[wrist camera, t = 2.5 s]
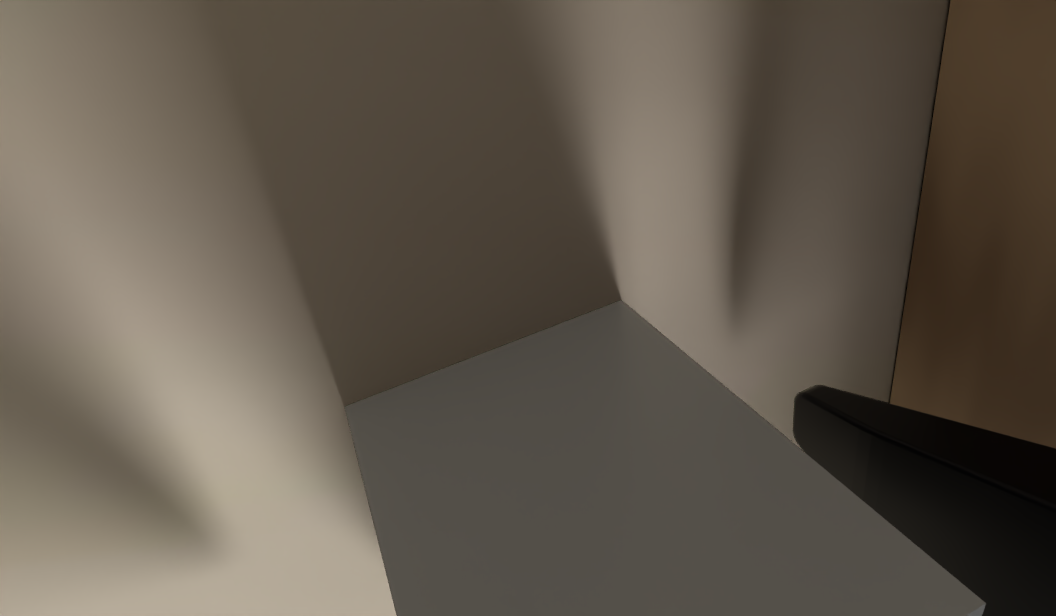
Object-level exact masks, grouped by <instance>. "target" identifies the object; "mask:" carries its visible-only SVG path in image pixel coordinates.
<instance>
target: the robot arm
mask: <svg viewBox="0 0 1056 616" xmlns="http://www.w3.org/2000/svg"><path fill="white" fill-rule="evenodd" d="M793 434H794V437H795V439H796V441H797V443H798V444H799V446H800V447H801V448H802V450H803V451H804V452H805V453H806V454H807V455H808V456H810V457H811V458H812V459H813V460H814V461H816V462H817V463H818V464H819V465H820V466H822V467H823V468H824V469H825V470H826V471H828V472H829V473H830V474H831V475H832V476H834V477H835V478H836V479H837V480H838V481H840V482H841V483H842V484H843V485H844V486H846V487H847V488H848V489H849V490H850V491H852V492H853V493H854V494H855V495H856V496H858V497H859V498H860V499H861V500H862V501H864V502H865V503H866V504H867V505H868V506H870V507H871V508H872V509H873V510H874V511H876V512H877V513H878V514H879V515H880V516H882V517H883V518H884V519H885V520H886V521H888V522H889V523H890V524H891V525H892V526H894V527H895V528H896V529H897V530H899V531H900V532H901V533H902V534H903V535H905V536H906V537H907V538H908V539H909V540H911V541H912V542H913V543H914V544H915V545H917V546H918V547H919V548H920V549H921V550H923V551H924V552H925V553H926V554H927V555H929V556H930V557H931V558H932V559H933V560H935V561H936V562H937V563H938V564H939V565H941V566H942V567H943V568H944V569H945V570H947V571H948V572H949V573H950V574H951V575H953V576H954V577H955V578H956V579H957V580H959V581H960V582H961V583H962V584H963V585H965V586H966V587H967V588H968V589H969V590H971V591H972V592H973V593H974V594H975V595H977V596H978V597H979V598H980V599H981V600H983V601H984V602H985V603H986V605H985V608H984V611H983V614H982V616H1056V448H1053V447H1049V446H1045V445H1042V444H1038V443H1034V442H1031V441H1027V440H1023V439H1019V438H1016V437H1012V436H1008V435H1005V434H1001V433H997V432H994V431H990V430H986V429H982V428H979V427H975V426H971V425H968V424H964V423H960V422H957V421H953V420H949V419H946V418H942V417H938V416H934V415H931V414H927V413H923V412H920V411H916V410H912V409H909V408H905V407H901V406H897V405H894V404H890V403H886V402H883V401H879V400H875V399H872V398H868V397H864V396H860V395H857V394H853V393H849V392H846V391H842V390H838V389H835V388H831V387H827V386H823V385H815V386H812V387H810V388H808V389H806V390H804V391H802V392H799V393H798V394H797V395H796V397H795V399H794V415H793Z"/></svg>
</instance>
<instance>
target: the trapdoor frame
mask: <svg viewBox="0 0 1056 616" xmlns="http://www.w3.org/2000/svg"><path fill="white" fill-rule="evenodd" d="M890 404H894V405H897V406H901V407H905V408H909V409H912V410H916V411H920V412H923V413H927V414H931V415H934V416H938V417H942V418H946V419H949V420H953V421H957V422H960V423H964V424H968V425H971V426H975V427H979V428H982V429H986V430H990V431H994V432H997V433H1001V434H1005V435H1008V436H1012V437H1016V438H1019V439H1023V440H1027V441H1031V442H1034V443H1038V444H1042V445H1045V446H1049V447H1053V448H1056V0H951V1H950V8H949V14H948V21H947V28H946V34H945V41H944V47H943V54H942V61H941V67H940V74H939V81H938V87H937V94H936V100H935V107H934V114H933V120H932V127H931V134H930V140H929V147H928V153H927V160H926V167H925V173H924V180H923V186H922V193H921V200H920V206H919V213H918V220H917V226H916V233H915V239H914V246H913V253H912V259H911V266H910V273H909V279H908V286H907V292H906V299H905V306H904V312H903V319H902V326H901V332H900V339H899V345H898V352H897V359H896V365H895V372H894V378H893V385H892V392H891V398H890Z"/></svg>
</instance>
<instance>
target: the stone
mask: <svg viewBox="0 0 1056 616" xmlns="http://www.w3.org/2000/svg"><path fill="white" fill-rule="evenodd" d="M345 411H346V415H347V419H348V423H349V427H350V431H351V435H352V439H353V443H354V447H355V451H356V455H357V459H358V463H359V467H360V471H361V475H362V479H363V483H364V487H365V491H366V495H367V499H368V503H369V507H370V511H371V515H372V519H373V523H374V527H375V531H376V535H377V539H378V543H379V547H380V551H381V555H382V559H383V563H384V567H385V571H386V575H387V579H388V583H389V587H390V591H391V595H392V599H393V603H394V607H395V611H396V615H397V616H982V614H983V611H984V608H985V605H986V603H985V602H984V601H983V600H981V599H980V598H979V597H978V596H977V595H975V594H974V593H973V592H972V591H971V590H969V589H968V588H967V587H966V586H965V585H963V584H962V583H961V582H960V581H959V580H957V579H956V578H955V577H954V576H953V575H951V574H950V573H949V572H948V571H947V570H945V569H944V568H943V567H942V566H941V565H939V564H938V563H937V562H936V561H935V560H933V559H932V558H931V557H930V556H929V555H927V554H926V553H925V552H924V551H923V550H921V549H920V548H919V547H918V546H917V545H915V544H914V543H913V542H912V541H911V540H909V539H908V538H907V537H906V536H905V535H903V534H902V533H901V532H900V531H899V530H897V529H896V528H895V527H894V526H892V525H891V524H890V523H889V522H888V521H886V520H885V519H884V518H883V517H882V516H880V515H879V514H878V513H877V512H876V511H874V510H873V509H872V508H871V507H870V506H868V505H867V504H866V503H865V502H864V501H862V500H861V499H860V498H859V497H858V496H856V495H855V494H854V493H853V492H852V491H850V490H849V489H848V488H847V487H846V486H844V485H843V484H842V483H841V482H840V481H838V480H837V479H836V478H835V477H834V476H832V475H831V474H830V473H829V472H828V471H826V470H825V469H824V468H823V467H822V466H820V465H819V464H818V463H817V462H816V461H814V460H813V459H812V458H811V457H810V456H808V455H807V454H806V453H805V452H804V451H802V450H801V449H800V448H799V447H798V446H796V445H795V444H794V443H793V442H792V441H790V440H789V439H788V438H787V437H786V436H784V435H783V434H782V433H781V432H780V431H778V430H777V429H776V428H775V427H774V426H772V425H771V424H770V423H769V422H767V421H766V420H765V419H764V418H763V417H761V416H760V415H759V414H758V413H757V412H755V411H754V410H753V409H752V408H751V407H749V406H748V405H747V404H746V403H745V402H743V401H742V400H741V399H740V398H739V397H737V396H736V395H735V394H734V393H733V392H731V391H730V390H729V389H728V388H727V387H725V386H724V385H723V384H722V383H721V382H719V381H718V380H717V379H716V378H715V377H713V376H712V375H711V374H710V373H709V372H707V371H706V370H705V369H704V368H703V367H701V366H700V365H699V364H698V363H697V362H695V361H694V360H693V359H692V358H691V357H689V356H688V355H687V354H686V353H685V352H683V351H682V350H681V349H680V348H679V347H677V346H676V345H675V344H674V343H673V342H671V341H670V340H669V339H668V338H667V337H665V336H664V335H663V334H662V333H661V332H659V331H658V330H657V329H656V328H655V327H653V326H652V325H651V324H650V323H649V322H647V321H646V320H645V319H644V318H643V317H641V316H640V315H639V314H638V313H636V312H635V311H634V310H633V309H632V308H630V307H629V306H628V305H627V304H626V303H624V302H623V301H622V300H620V301H617V302H615V303H612V304H609V305H607V306H604V307H602V308H599V309H596V310H594V311H591V312H589V313H586V314H583V315H581V316H578V317H576V318H573V319H571V320H568V321H565V322H563V323H560V324H558V325H555V326H552V327H550V328H547V329H545V330H542V331H539V332H537V333H534V334H532V335H529V336H526V337H524V338H521V339H519V340H516V341H513V342H511V343H508V344H506V345H503V346H500V347H498V348H495V349H493V350H490V351H487V352H485V353H482V354H480V355H477V356H474V357H472V358H469V359H467V360H464V361H461V362H459V363H456V364H454V365H451V366H448V367H446V368H443V369H441V370H438V371H435V372H433V373H430V374H428V375H425V376H423V377H420V378H417V379H415V380H412V381H410V382H407V383H404V384H402V385H399V386H397V387H394V388H391V389H389V390H386V391H384V392H381V393H378V394H376V395H373V396H371V397H368V398H365V399H363V400H360V401H358V402H355V403H352V404H350V405H347V406H345Z"/></svg>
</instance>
